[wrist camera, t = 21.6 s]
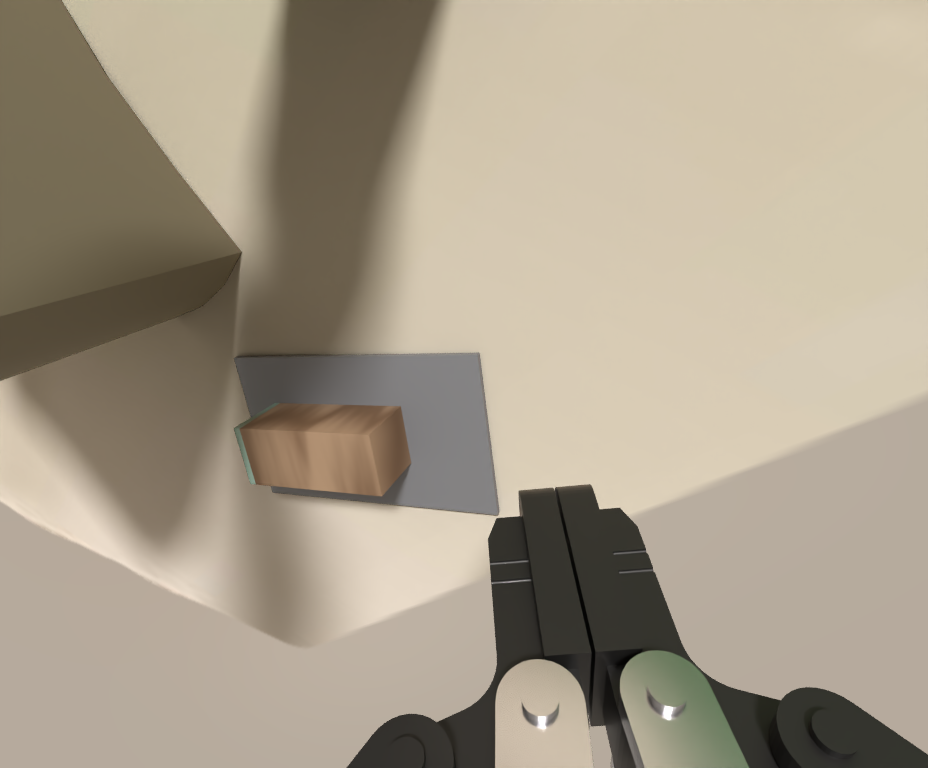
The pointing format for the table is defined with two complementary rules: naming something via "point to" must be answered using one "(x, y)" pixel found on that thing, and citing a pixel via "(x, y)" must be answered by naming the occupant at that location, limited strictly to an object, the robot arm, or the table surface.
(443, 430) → the rubber mat
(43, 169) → the book
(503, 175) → the table surface
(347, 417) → the walnut block
